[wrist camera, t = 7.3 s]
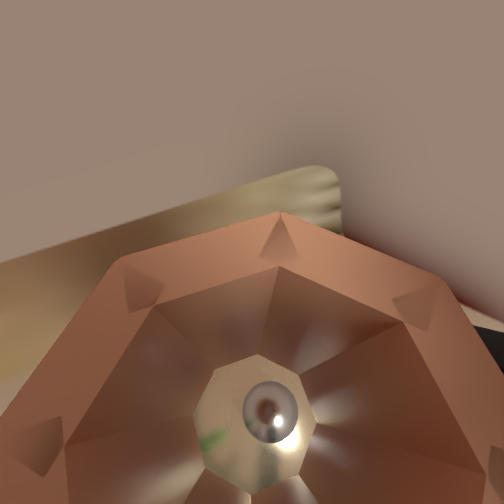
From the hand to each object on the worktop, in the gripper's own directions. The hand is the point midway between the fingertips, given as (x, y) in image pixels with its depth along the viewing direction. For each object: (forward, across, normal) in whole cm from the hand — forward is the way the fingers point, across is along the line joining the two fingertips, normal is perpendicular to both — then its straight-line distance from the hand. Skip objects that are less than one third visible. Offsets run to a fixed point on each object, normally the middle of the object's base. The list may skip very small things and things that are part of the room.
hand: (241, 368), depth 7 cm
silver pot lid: (+9, -1, +11) cm, 14 cm away
